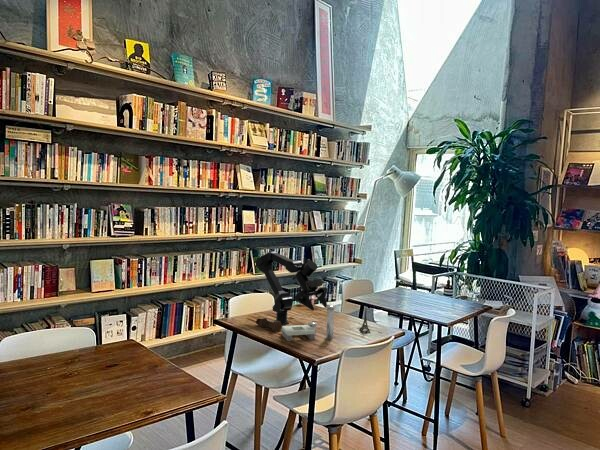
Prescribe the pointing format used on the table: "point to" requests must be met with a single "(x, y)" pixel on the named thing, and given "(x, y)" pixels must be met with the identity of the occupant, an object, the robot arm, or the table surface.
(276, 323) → the bolt
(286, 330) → the square washer plate
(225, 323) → the table surface
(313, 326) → the short stub
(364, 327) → the eiffel tower figurine
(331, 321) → the long pin
